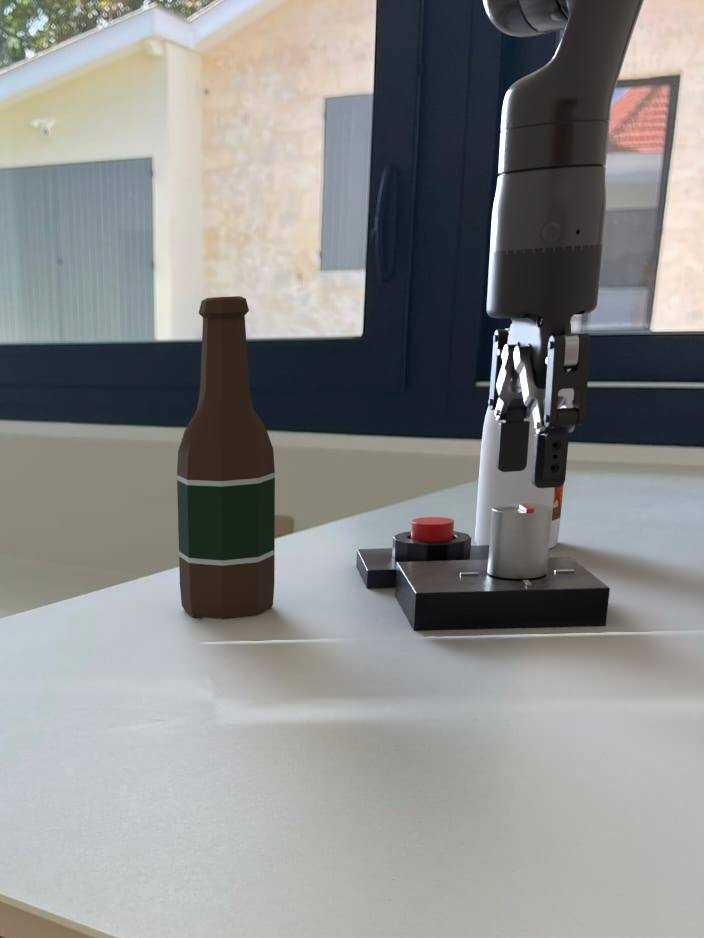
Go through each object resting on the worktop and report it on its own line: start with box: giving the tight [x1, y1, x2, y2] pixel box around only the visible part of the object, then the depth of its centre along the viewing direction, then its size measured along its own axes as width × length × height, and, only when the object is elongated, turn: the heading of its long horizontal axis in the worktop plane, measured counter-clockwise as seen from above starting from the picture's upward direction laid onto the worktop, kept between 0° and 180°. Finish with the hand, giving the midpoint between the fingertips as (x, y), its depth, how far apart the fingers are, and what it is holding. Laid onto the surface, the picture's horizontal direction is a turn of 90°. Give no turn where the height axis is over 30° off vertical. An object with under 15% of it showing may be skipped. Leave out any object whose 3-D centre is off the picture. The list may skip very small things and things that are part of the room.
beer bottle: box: [176, 295, 276, 620], centre depth 97 cm, size 8×8×24 cm
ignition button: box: [410, 516, 455, 542], centre depth 107 cm, size 4×4×2 cm
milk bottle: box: [474, 327, 565, 550], centre depth 115 cm, size 8×8×20 cm
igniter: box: [355, 530, 489, 590], centre depth 108 cm, size 12×9×4 cm
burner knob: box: [487, 503, 553, 579], centre depth 94 cm, size 4×4×5 cm
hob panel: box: [394, 556, 611, 632], centre depth 96 cm, size 14×11×3 cm
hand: (528, 478), depth 92 cm, fingers open, 8 cm apart
